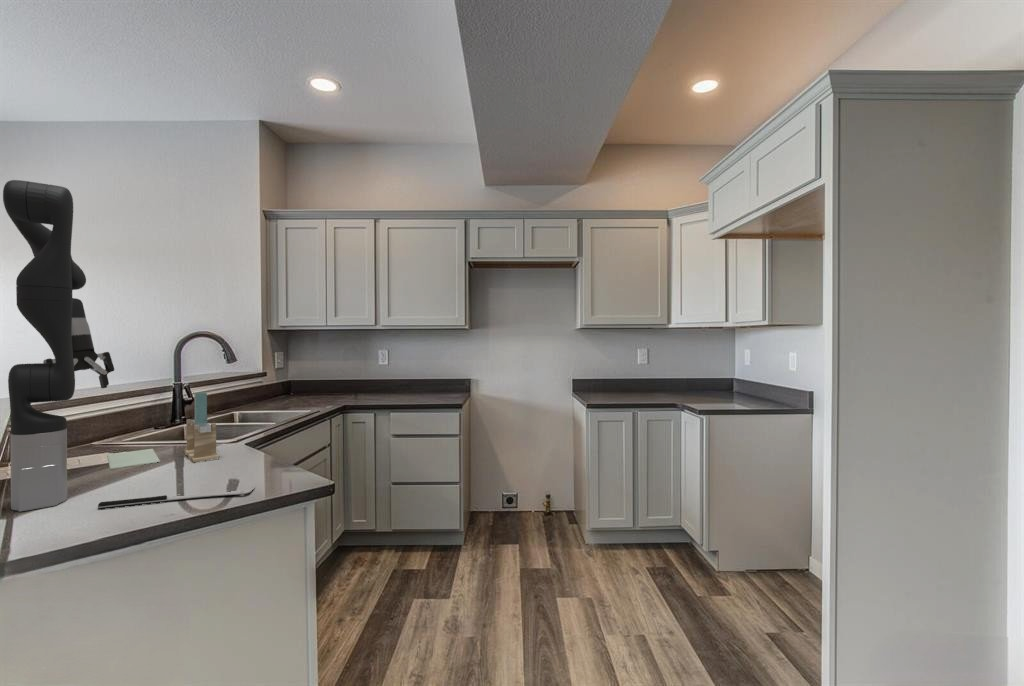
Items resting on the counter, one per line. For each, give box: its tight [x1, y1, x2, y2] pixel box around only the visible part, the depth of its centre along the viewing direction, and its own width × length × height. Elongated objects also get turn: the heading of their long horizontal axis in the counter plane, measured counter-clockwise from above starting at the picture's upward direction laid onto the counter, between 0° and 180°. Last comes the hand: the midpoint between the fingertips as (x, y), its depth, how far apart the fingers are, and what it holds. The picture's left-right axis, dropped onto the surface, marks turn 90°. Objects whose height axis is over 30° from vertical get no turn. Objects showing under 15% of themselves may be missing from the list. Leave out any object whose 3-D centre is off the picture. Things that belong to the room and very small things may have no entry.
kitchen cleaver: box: [97, 490, 253, 510], centre depth 111 cm, size 31×2×10 cm
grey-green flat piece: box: [190, 391, 211, 433], centre depth 153 cm, size 18×3×12 cm, turn 43°
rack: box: [183, 418, 220, 464], centre depth 153 cm, size 19×7×12 cm, turn 43°
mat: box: [107, 448, 161, 471], centre depth 149 cm, size 24×12×1 cm, turn 43°
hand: (85, 391), depth 129 cm, fingers open, 8 cm apart
